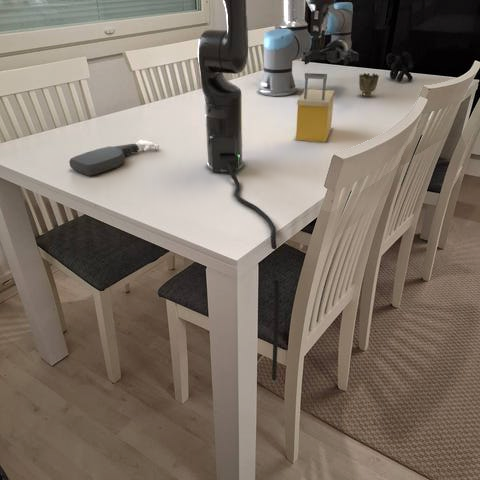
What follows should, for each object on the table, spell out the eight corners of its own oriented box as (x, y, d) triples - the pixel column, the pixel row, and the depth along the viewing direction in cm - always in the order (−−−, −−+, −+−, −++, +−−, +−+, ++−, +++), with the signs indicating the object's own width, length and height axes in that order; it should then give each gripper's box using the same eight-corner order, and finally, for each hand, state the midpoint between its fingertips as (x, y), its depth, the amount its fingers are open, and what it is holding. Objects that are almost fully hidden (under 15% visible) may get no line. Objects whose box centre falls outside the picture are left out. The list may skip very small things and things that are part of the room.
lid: (328, 106, 128) (331, 76, 123) (297, 104, 130) (298, 74, 126) (334, 94, 139) (336, 66, 134) (305, 92, 141) (307, 64, 137)
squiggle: (400, 92, 202) (376, 71, 205) (417, 76, 202) (392, 56, 205) (405, 81, 191) (380, 59, 194) (423, 64, 191) (397, 42, 194)
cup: (354, 97, 177) (357, 76, 172) (359, 92, 182) (362, 72, 178) (373, 99, 174) (376, 77, 169) (378, 94, 179) (381, 73, 175)
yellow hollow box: (325, 142, 134) (328, 106, 128) (295, 139, 136) (297, 104, 131) (330, 128, 145) (334, 94, 139) (303, 126, 147) (305, 93, 141)
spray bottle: (67, 168, 120) (139, 144, 136) (91, 178, 114) (163, 151, 130) (65, 157, 118) (137, 134, 134) (89, 167, 112) (162, 142, 128)
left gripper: (312, -19, 121) (308, 46, 130) (303, -16, 110) (299, 54, 118) (340, -19, 119) (334, 46, 128) (333, -16, 108) (327, 55, 116)
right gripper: (368, 61, 168) (361, 72, 151) (303, 60, 176) (289, 71, 159) (370, 39, 164) (363, 48, 147) (304, 40, 172) (289, 48, 155)
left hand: (317, 50), depth 123 cm, fingers open, 8 cm apart
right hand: (325, 60), depth 153 cm, fingers open, 13 cm apart
